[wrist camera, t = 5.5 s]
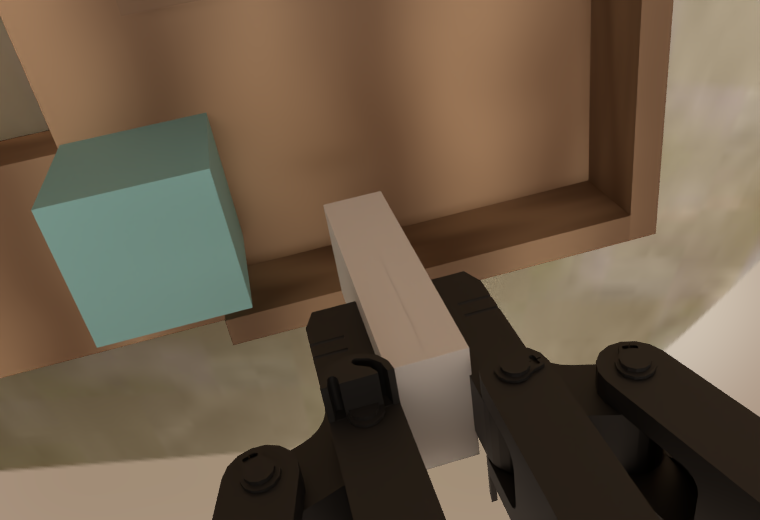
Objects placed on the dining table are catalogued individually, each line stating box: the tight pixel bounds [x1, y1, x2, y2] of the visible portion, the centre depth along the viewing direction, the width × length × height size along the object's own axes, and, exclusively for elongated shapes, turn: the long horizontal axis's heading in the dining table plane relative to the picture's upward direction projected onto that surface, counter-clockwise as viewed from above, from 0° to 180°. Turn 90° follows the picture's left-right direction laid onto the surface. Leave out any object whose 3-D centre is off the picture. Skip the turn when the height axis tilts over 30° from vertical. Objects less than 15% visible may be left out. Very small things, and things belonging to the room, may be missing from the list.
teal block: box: [31, 113, 253, 348], centre depth 21 cm, size 4×4×4 cm
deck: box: [0, 0, 673, 378], centre depth 21 cm, size 34×14×6 cm, turn 99°
